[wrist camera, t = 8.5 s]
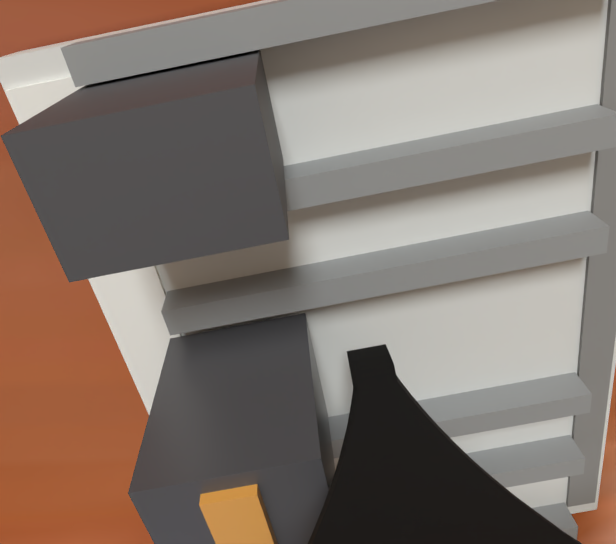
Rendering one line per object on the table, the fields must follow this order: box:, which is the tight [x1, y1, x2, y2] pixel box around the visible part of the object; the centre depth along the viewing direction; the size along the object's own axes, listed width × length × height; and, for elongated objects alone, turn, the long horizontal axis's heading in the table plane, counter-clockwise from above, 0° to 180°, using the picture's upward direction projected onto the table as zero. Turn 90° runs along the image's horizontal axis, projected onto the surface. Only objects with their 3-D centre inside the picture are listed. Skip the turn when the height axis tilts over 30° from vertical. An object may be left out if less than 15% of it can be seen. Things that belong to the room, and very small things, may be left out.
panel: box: [0, 0, 616, 540], centre depth 11 cm, size 15×12×5 cm
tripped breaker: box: [128, 313, 335, 544], centre depth 11 cm, size 3×3×4 cm
